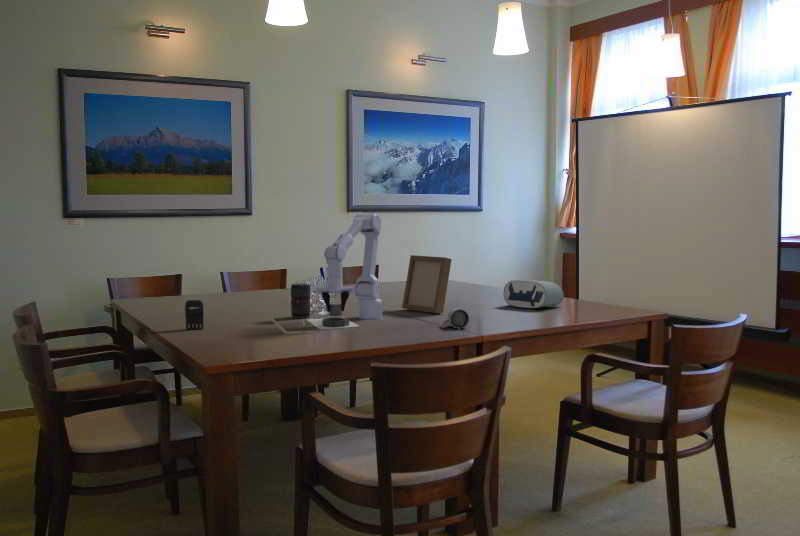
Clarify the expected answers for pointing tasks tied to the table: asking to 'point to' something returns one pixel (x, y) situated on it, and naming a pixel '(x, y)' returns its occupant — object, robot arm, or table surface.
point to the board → (333, 323)
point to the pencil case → (532, 293)
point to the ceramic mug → (456, 319)
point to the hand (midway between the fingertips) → (335, 311)
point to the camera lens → (300, 301)
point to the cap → (335, 310)
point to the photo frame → (426, 283)
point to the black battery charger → (194, 314)
